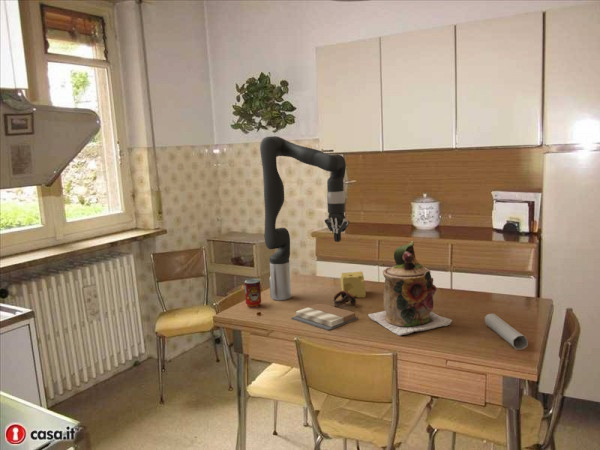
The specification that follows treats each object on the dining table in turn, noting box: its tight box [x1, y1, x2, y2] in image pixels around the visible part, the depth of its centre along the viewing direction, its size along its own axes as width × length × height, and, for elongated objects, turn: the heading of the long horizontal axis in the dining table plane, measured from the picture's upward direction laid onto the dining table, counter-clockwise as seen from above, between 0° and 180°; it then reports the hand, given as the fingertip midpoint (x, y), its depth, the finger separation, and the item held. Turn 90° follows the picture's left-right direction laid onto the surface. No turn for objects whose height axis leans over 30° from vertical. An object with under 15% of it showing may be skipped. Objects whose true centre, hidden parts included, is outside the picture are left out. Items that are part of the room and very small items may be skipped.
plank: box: [295, 307, 343, 327], centre depth 203 cm, size 20×7×2 cm, turn 44°
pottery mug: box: [332, 290, 358, 308], centre depth 220 cm, size 12×10×8 cm
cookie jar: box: [368, 240, 453, 337], centre depth 195 cm, size 25×25×32 cm
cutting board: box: [291, 302, 358, 332], centre depth 205 cm, size 21×17×3 cm
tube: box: [484, 313, 529, 351], centre depth 179 cm, size 5×5×25 cm
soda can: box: [244, 277, 262, 309], centre depth 226 cm, size 7×7×12 cm
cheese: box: [340, 271, 366, 298], centre depth 235 cm, size 10×11×10 cm
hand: (337, 241), depth 216 cm, fingers closed
